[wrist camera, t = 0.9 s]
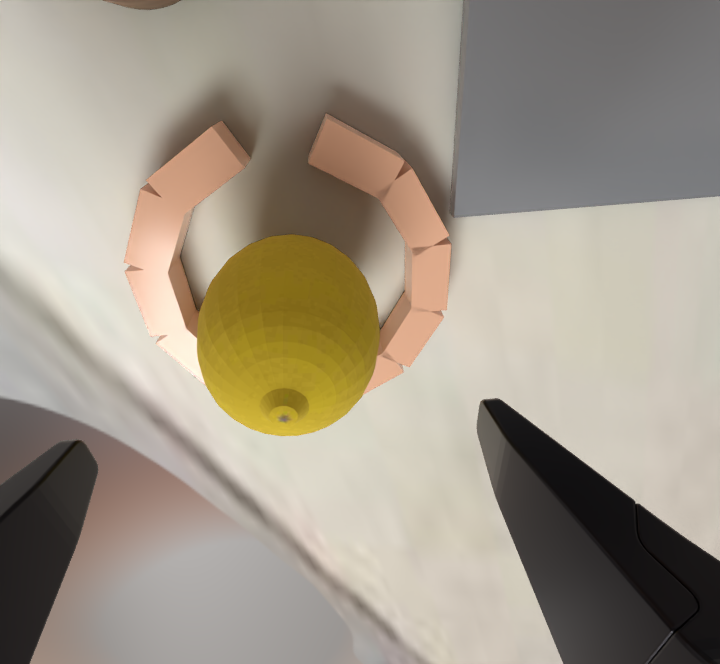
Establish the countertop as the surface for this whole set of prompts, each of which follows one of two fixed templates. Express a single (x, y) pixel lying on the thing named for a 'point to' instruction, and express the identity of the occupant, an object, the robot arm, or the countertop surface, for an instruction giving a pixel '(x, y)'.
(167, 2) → the walnut salt pot
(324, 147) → the c ring
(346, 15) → the countertop surface
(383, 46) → the countertop surface
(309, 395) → the lemon
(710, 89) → the slate coaster
